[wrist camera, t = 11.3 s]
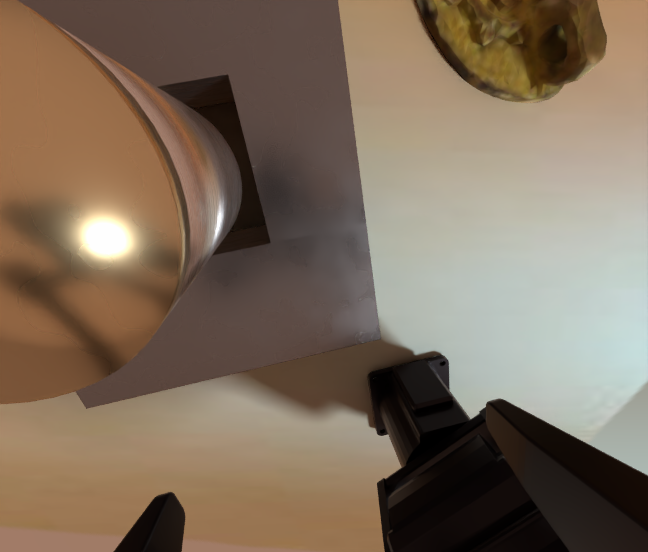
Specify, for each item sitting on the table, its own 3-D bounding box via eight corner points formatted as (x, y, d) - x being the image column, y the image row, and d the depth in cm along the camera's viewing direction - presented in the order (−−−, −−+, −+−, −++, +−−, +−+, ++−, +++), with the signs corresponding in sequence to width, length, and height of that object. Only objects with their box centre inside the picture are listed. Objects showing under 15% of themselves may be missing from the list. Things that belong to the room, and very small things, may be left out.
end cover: (258, 242, 13) (229, 356, 5) (116, 272, 13) (-137, 441, 5) (215, 81, 11) (57, -122, 3) (40, 111, 10) (-634, -35, 3)
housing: (358, 300, 21) (380, 339, 17) (130, 352, 20) (86, 408, 16) (301, -78, 14) (312, -197, 9) (-62, -27, 13) (-250, -132, 8)
